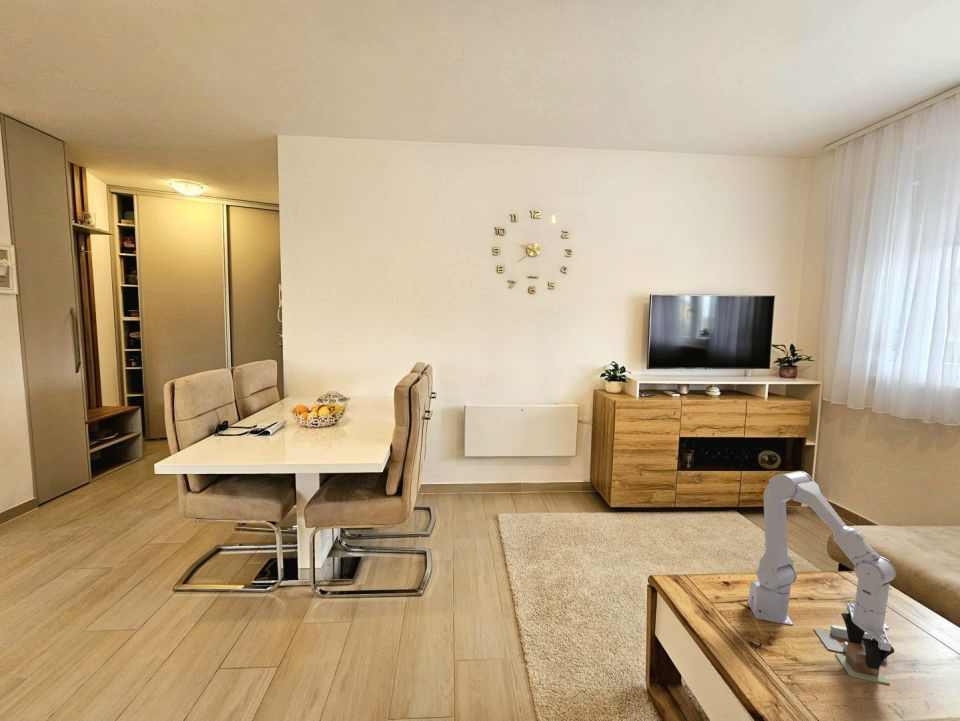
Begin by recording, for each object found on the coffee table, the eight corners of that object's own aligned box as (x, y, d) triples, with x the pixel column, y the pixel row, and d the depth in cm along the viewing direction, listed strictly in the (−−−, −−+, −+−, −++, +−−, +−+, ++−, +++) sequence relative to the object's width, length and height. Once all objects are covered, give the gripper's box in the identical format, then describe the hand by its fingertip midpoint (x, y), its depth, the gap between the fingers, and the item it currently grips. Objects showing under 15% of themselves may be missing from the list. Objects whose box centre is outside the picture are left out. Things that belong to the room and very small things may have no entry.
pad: (850, 676, 107) (850, 674, 107) (835, 655, 113) (835, 653, 113) (889, 684, 105) (889, 683, 105) (871, 662, 111) (872, 661, 111)
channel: (827, 650, 115) (829, 641, 115) (813, 629, 123) (814, 621, 123) (886, 661, 112) (887, 653, 112) (868, 640, 119) (869, 631, 119)
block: (854, 671, 108) (857, 653, 107) (845, 659, 112) (847, 641, 111) (878, 676, 106) (881, 658, 106) (868, 664, 110) (870, 646, 110)
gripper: (910, 629, 99) (901, 683, 101) (871, 591, 113) (864, 639, 115) (873, 622, 101) (865, 675, 103) (840, 585, 115) (833, 633, 116)
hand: (862, 656), depth 109 cm, fingers open, 7 cm apart
